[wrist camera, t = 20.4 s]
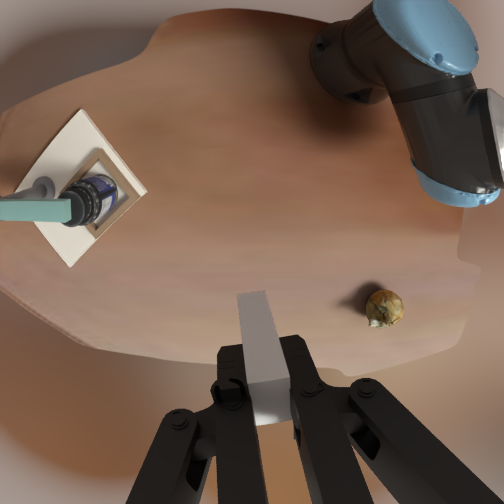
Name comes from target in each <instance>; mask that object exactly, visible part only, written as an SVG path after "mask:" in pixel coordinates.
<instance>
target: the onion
mask: <svg viewBox="0 0 504 504" xmlns="http://www.w3.org/2000/svg"><path fill="white" fill-rule="evenodd" d="M366 314H367V318H368V320H369V326H374V327H378V328H385V327H387V326H390V325H394V324H396V323H397V322H398V321H399V320H400V319H401V318H402V316H403V314H404V307H403V303H402V299H401V298H400V297H399V296H398V295H397V294H395V293H394V292H392V291H389V290H379V291H377V292H375V293H374V294H372V295H371V296H370V298H369V299H368V301H367V304H366Z"/></svg>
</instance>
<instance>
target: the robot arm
mask: <svg viewBox="0 0 504 504" xmlns="http://www.w3.org/2000/svg"><path fill="white" fill-rule="evenodd" d="M476 51H478V44H477V41H476V38H475V36H474V33H473V31H472V29H471V27H470V26H469V24H468V23H467V21H466V20H465V18H464V17H463V16H462V14H461V13H460V12H459V11H458V10H457V9H456V8H455V7H454V6H453V5H452V4H451V3H450V2H449V1H448V0H373V1H372V2H371V3H370V4H368V5H367V6H366V7H364V8H363V9H362V10H361V11H360V12H359V13H358V14H356V15H355V16H354V17H353V18H352V19H349V20H343V21H337V22H334V23H331V24H329V25H327V26H326V27H325V28H323V29H322V30H321V31H320V32H319V33H318V34H317V36H316V37H315V38H314V40H313V42H312V45H311V49H310V61H311V65H312V69H313V71H314V74H315V76H316V77H317V79H318V81H319V82H320V83H321V85H322V86H323V87H324V88H325V89H326V90H327V91H328V92H329V93H330V94H332V95H333V96H334V97H336V98H338V99H339V100H341V101H343V102H346V103H349V104H353V105H370V104H375V103H378V102H381V101H383V100H384V99H386V98H387V97H389V96H390V99H391V101H392V104H393V107H394V109H395V112H396V115H397V117H398V120H399V123H400V126H401V128H402V131H403V134H404V137H405V140H406V143H407V146H408V149H409V152H410V156H411V158H410V160H411V163H412V166H413V167H414V169H415V171H416V174H417V177H418V180H419V183H420V185H421V187H422V189H423V190H424V191H425V192H426V193H427V194H428V195H429V196H430V197H431V198H433V199H435V200H436V201H438V202H441V203H444V204H447V205H451V206H456V207H477V206H478V205H479V204H483V205H486V204H489V203H491V202H492V201H494V200H495V199H496V198H497V197H498V195H499V192H500V189H501V188H504V98H503V97H502V96H501V95H499V94H498V93H497V92H496V91H494V90H493V89H492V88H486V89H477V87H476V84H475V82H474V79H473V76H472V74H471V71H472V70H473V69H474V68H475V67H476V65H477V63H478V59H479V55H478V54H477V52H476ZM237 300H238V309H239V318H240V327H241V335H242V344H238V345H230V346H222V347H221V349H220V350H219V352H218V354H217V380H216V381H215V382H214V384H213V385H212V387H211V390H210V391H211V394H212V397H213V400H214V403H213V404H212V405H211V406H210V407H208V408H206V409H204V410H201V411H199V412H195V413H193V412H192V411H190V410H187V409H175V410H172V411H170V412H169V413H167V414H166V415H165V417H164V418H163V420H162V422H161V424H160V426H159V429H158V431H157V433H156V435H155V438H154V440H153V443H152V445H151V447H150V449H149V451H148V453H147V456H146V458H145V460H144V462H143V465H142V467H141V469H140V471H139V474H138V476H137V478H136V481H135V483H134V486H133V488H132V490H131V492H130V494H129V497H128V499H127V501H126V504H199V502H200V499H201V495H202V492H203V488H204V485H205V481H206V478H207V474H208V471H209V467H210V464H211V460H212V457H213V456H216V464H217V486H218V487H217V488H218V504H269V503H268V497H267V491H266V485H265V478H264V472H263V466H262V460H261V453H260V447H259V440H258V434H257V429H256V426H257V425H264V424H270V423H277V422H283V421H288V420H292V419H293V423H294V439H296V442H297V446H298V450H299V454H300V458H301V462H302V465H303V469H304V473H305V477H306V481H307V485H308V489H309V493H310V497H311V501H312V504H374V502H373V500H372V497H371V495H370V492H369V489H368V487H367V484H366V482H365V479H364V476H363V474H362V471H361V469H360V466H359V464H358V461H357V458H356V456H355V453H354V451H353V448H352V446H353V447H354V448H355V450H356V451H357V452H358V454H359V455H360V456H361V457H362V459H363V460H364V461H365V462H366V464H367V465H368V466H369V467H370V469H371V470H372V471H373V472H374V474H375V475H376V476H377V477H378V479H379V480H380V481H381V482H382V483H383V485H384V486H385V487H386V488H387V490H388V491H389V492H390V493H391V494H392V495H393V497H394V498H395V499H396V500H397V502H398V503H399V504H504V502H503V501H502V500H501V499H500V498H499V497H498V496H497V495H496V494H495V493H494V492H493V491H492V490H490V489H489V488H488V487H487V486H486V485H485V484H484V483H483V482H482V481H481V480H480V479H479V478H478V477H477V476H476V475H475V474H474V473H472V471H471V470H470V469H469V468H468V467H466V466H465V465H464V464H463V463H462V462H461V461H460V460H459V459H458V458H457V457H456V456H455V455H454V454H453V453H452V452H451V451H450V450H449V449H448V448H447V447H446V446H445V445H444V444H443V443H442V442H441V441H440V440H439V439H437V438H436V437H435V436H434V435H433V434H432V433H431V432H430V431H429V430H428V429H427V428H426V427H425V426H424V425H423V424H422V423H421V422H420V421H419V420H418V419H417V418H416V417H415V416H414V415H413V414H412V413H411V412H409V410H407V408H405V407H404V406H403V405H402V404H401V403H400V402H399V401H398V400H397V399H396V398H395V397H394V396H393V395H392V394H391V393H390V392H389V391H388V390H387V389H386V388H385V387H384V386H383V385H382V384H381V383H380V382H378V381H376V380H374V379H371V378H362V379H358V380H356V381H355V382H353V383H352V384H351V386H350V387H333V386H330V385H327V384H326V383H325V382H323V381H322V380H321V379H320V377H319V375H318V372H317V370H316V367H315V365H314V362H313V360H312V357H311V355H310V352H309V350H308V347H307V345H306V343H305V340H304V339H302V338H301V337H300V336H299V335H298V334H297V335H292V336H286V337H280V338H279V337H278V334H277V331H276V327H275V324H274V320H273V317H272V313H271V310H270V307H269V303H268V300H267V296H266V293H265V290H264V291H257V292H250V293H243V294H237ZM351 445H352V446H351Z"/></svg>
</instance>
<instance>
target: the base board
mask: <svg viewBox="0 0 504 504" xmlns="http://www.w3.org/2000/svg"><path fill="white" fill-rule="evenodd" d="M99 174H102V175H106V176H108V177H110V178H111V179H112V180H113V181H114V182H115V184H116V186H117V190H118V200H117V202H116V204H115V206H114V207H113V208H112V209H111V210H110V211H108V212H107V213H105V214H104V215H102V216H101V217H99V218H98V219H96V220H95V221H93V222H92V223H90V224H88V225H85V226H76V227H67V226H64V225H63V224H62V223H61V222H38V221H33V222H34V223H35V224H36V226H37V227H38V228H39V230H40V231H41V232H42V234H43V235H44V236H45V238H46V239H47V240H48V241H49V243H50V244H51V245H52V247H53V248H54V249H55V250H56V252H57V253H58V254H59V255H60V256H61V258H62V259H63V260H64V261H65V262H66V264H67V265H68V266H69V267H71V266H73V264H74V263H75V262H76V261H77V260H78V259H79V258H80V257H81V256H82V255H83V254H84V253H85V251H86V250H87V249H88V248H89V247H90V246H91V245H92V244H93V243H94V242H95V241H96V240H97V239H98V238H99V237H100V236H101V235H102V234H103V233H104V232H105V231H106V230H107V229H108V228H109V227H110V226H111V225H112V224H113V223H114V222H115V221H116V220H117V219H118V218H119V217H120V216H121V215H122V214H123V213H124V212H126V211H127V210H128V209H129V208H130V207H131V206H132V205H133V204H134V203H135V202H136V201H137V200H138V199H140V198H141V197H142V196H143V195H144V194H145V193H146V192H147V190H146V189H145V187H144V186H143V185H142V184H141V182H140V181H139V180H138V179H137V177H136V176H135V175H134V174H133V172H132V171H131V170H130V169H129V167H128V166H127V165H126V164H125V162H124V161H123V160H122V159H121V157H120V156H119V155H118V154H117V152H116V151H115V150H114V148H113V147H112V146H111V145H110V143H109V142H108V141H107V139H106V138H105V137H104V136H103V134H102V133H101V132H100V130H99V129H98V128H97V126H96V125H95V124H94V122H93V121H92V120H91V118H90V117H89V116H88V114H87V113H86V112H85V110H83V109H80V110H79V111H78V113H77V114H76V115H75V116H74V117H73V118H72V119H71V120H70V121H69V122H68V123H67V125H66V126H65V127H64V128H63V129H62V130H61V131H60V133H59V134H58V135H57V136H56V137H55V138H54V140H53V141H52V142H51V143H50V145H49V146H48V147H47V148H46V150H45V151H44V152H43V153H42V155H41V156H40V157H39V159H38V160H37V161H36V163H35V164H34V165H33V167H32V168H31V169H30V171H29V172H28V174H27V175H26V177H25V178H24V179H23V181H22V182H21V184H20V185H19V187H18V188H17V190H16V191H15V193H13V194H10V195H7V196H5V197H3V199H57V198H58V196H59V195H60V194H61V193H62V192H64V191H65V190H66V188H67V187H68V186H69V185H70V184H72V183H73V182H76V181H79V180H82V179H85V178H88V177H92V176H95V175H99Z"/></svg>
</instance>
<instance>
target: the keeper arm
mask: <svg viewBox="0 0 504 504" xmlns="http://www.w3.org/2000/svg"><path fill="white" fill-rule="evenodd" d="M2 220H13V221H38V222H61V223H66V222H68V221H69V220H71V199H3V197H2V196H0V221H2Z"/></svg>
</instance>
